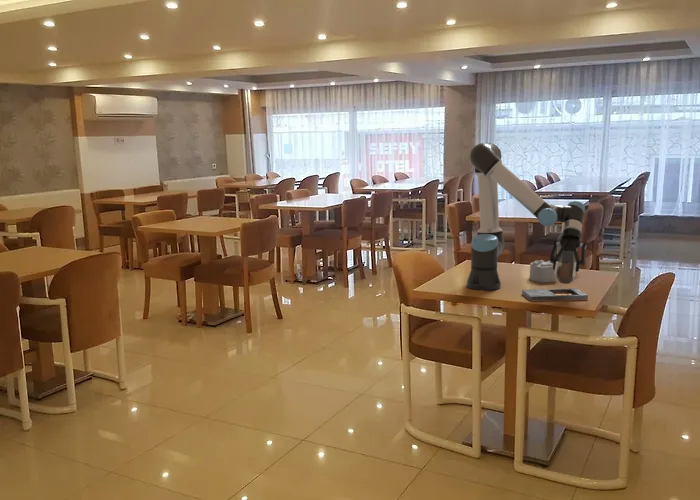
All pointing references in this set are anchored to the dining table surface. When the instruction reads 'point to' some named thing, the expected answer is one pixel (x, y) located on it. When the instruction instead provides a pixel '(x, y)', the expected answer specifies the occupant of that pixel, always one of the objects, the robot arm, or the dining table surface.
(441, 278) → the dining table surface
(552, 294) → the grey slab with opening
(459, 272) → the dining table surface
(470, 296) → the dining table surface
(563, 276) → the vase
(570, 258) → the liquor
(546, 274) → the lumpy-topped squat cylinder
